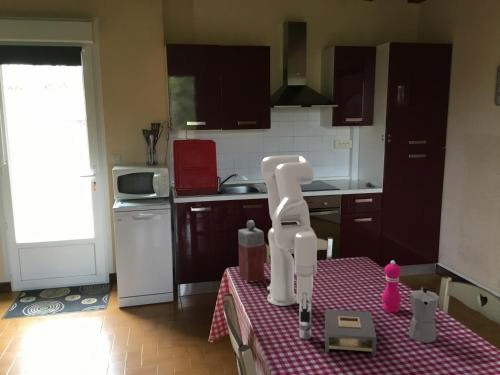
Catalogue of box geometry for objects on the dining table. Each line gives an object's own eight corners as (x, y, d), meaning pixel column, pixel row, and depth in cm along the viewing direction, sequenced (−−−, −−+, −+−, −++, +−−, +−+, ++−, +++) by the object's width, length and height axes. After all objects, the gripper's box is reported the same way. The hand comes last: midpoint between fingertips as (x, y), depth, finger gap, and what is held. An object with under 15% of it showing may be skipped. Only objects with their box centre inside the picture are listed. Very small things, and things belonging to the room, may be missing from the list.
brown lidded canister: (268, 278, 208) (268, 220, 203) (247, 283, 203) (246, 223, 199) (259, 272, 216) (259, 216, 211) (239, 276, 211) (237, 219, 206)
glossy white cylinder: (296, 335, 156) (296, 298, 154) (305, 332, 158) (305, 295, 156) (304, 340, 153) (304, 302, 150) (314, 336, 155) (314, 299, 153)
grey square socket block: (325, 326, 162) (325, 308, 161) (370, 328, 160) (370, 311, 159) (325, 352, 145) (325, 333, 144) (375, 356, 142) (376, 336, 141)
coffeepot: (439, 347, 146) (442, 296, 143) (408, 343, 149) (411, 293, 146) (434, 326, 161) (437, 278, 158) (407, 322, 164) (409, 276, 161)
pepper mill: (401, 314, 171) (404, 264, 167) (382, 312, 172) (384, 263, 169) (399, 305, 178) (401, 257, 174) (380, 304, 179) (382, 257, 176)
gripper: (295, 259, 160) (295, 307, 163) (292, 277, 144) (292, 329, 147) (317, 260, 159) (316, 308, 162) (316, 278, 142) (315, 331, 146)
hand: (305, 318), depth 154 cm, fingers closed on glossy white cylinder, 4 cm apart
